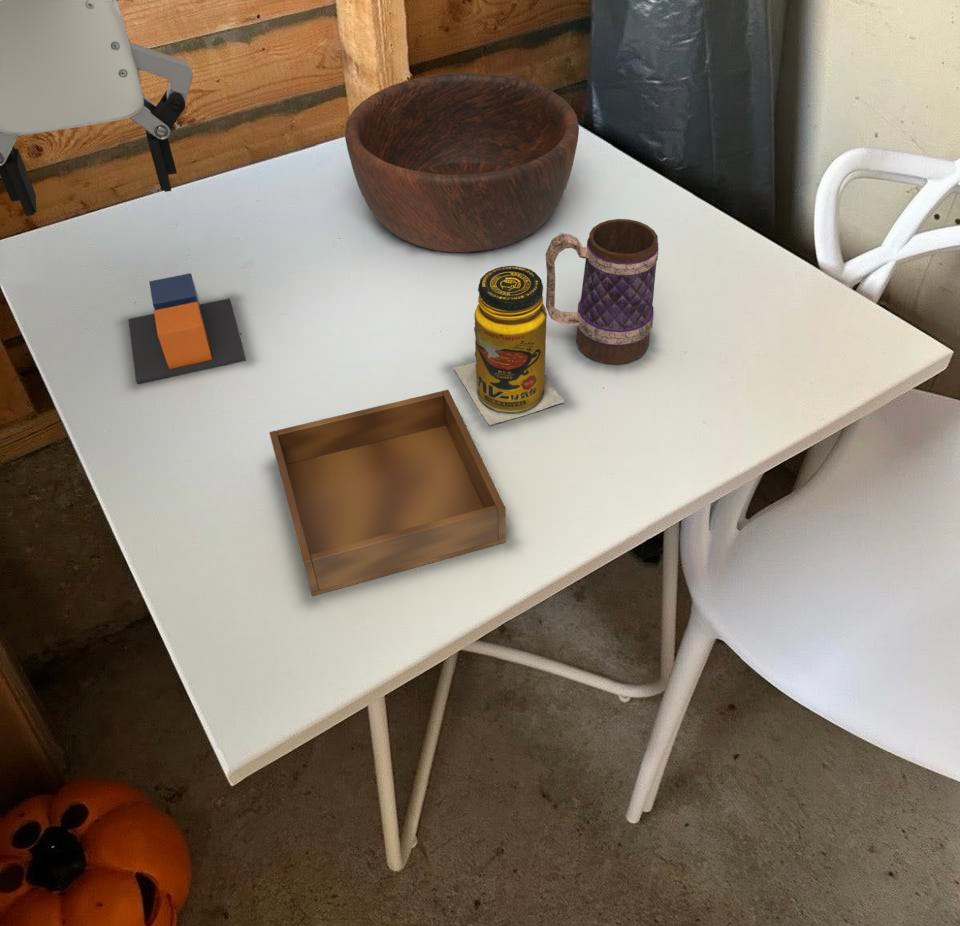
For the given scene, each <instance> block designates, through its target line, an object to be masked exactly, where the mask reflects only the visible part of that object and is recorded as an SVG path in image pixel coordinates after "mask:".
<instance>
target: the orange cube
mask: <svg viewBox="0 0 960 926" xmlns="http://www.w3.org/2000/svg"><path fill="white" fill-rule="evenodd" d="M153 314H154V315H155V321H156V328H157V334H158V338H159V341H160V344H161V347H162V350H163V353H164V356H165V359H166V361H167V364H168V367H169V369H173V368H178V367H182V366H187V365H191V364H196V363H200V362H205V361H210V360H212V356H211V351H210V347H209V342H208V337H207V333H206V330H205V326H204V323H203V320H202V316H201V313H200V309H199V306H198V302H193V303H188V304H183V305H179V306H174V307H169V308H164V309H159V310H153Z"/></svg>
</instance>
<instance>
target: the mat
mask: <svg viewBox="0 0 960 926" xmlns="http://www.w3.org/2000/svg"><path fill="white" fill-rule="evenodd" d="M200 306H201V310H202V315H203V319H204V324H205V330H206V333H207V337H208V342H209V347H210V351H211V356H212V360H210V361H205V362H200V363H196V364H191V365H187V366H182V367H178V368H173V369H169V367H168V364H167V361H166V359H165V356H164V353H163V350H162V347H161V344H160V341H159V338H158V334H157V328H156V321H155V315H154V313H150V314H145V315H141V316H135V317H131V318H128V327H129V337H130V343H131V351H132V360H133V367H134V375H135V382H136V384H137V385H138V384H139V385H140V384H144V383H147V382H153V381H157V380H161V379H165V378H170V377H171V378H172V377H175V376H180V375H185V374H188V373H189V374H190V373H193V372H197V371H202V370H208V369H212V368H215V367H220V366H226V365H230V364H234V363H239V362H243V361H246V357H245V353H244V349H243V348H244V347H243V344H242V341H241V336H240V333H239V329H238V325H237V321H236V317H235V314H234V309H233V305H232V302H231V298H230V297H229V298H224V299H219V300H214V301H209V302H205V303H200Z"/></svg>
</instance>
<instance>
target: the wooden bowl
mask: <svg viewBox="0 0 960 926" xmlns="http://www.w3.org/2000/svg"><path fill="white" fill-rule="evenodd" d="M578 120H579V119H578V116H577V114H576V112H575V110H574V109H573V107H572V106H571V105H570V104H569V102H568V101H566V99H564V98H563V97H562V96H560V95H559V94H557V93H555V92H554V91H552V90H550V89H549V88H547V87H544V86H542V85H540V84H537V83H534V82H532V81H529V80H525V79H521V78H517V77H512V76H507V75H503V74H502V75H501V74H493V73H483V72H482V73H481V72H454V73H453V72H451V73H442V74H441V73H440V74H433V75H427V76H422V77H416V78H413V79H408V80H404V81H401V82H399V83H395V84H393V85H389V86H387V87H385V88H383V89H380V90H379V91H377V92H375V93H373V94H372V95H370V96H368V97H367V98H365V100H363V101H362V102H360V103H359V104H358V105H357V106H356V107H355V108H354V109H353V110H352V112H351V113H350V114H349V116H348V119H347V120H346V123H345V130H344V139H345V143H346V149H347V153H348V157H349V160H350V164H351V168H352V171H353V174H354V178H355V180H356V183H357V187H358V189H359V191H360V194H361V196H362V197H363V200H364V202H365V203H366V205H367V207H368V208H369V210H370V211H371V213H372V214H373V215H374V217H375V218H376V220H378V222H379V223H380V224H381V225H382V226H383V227H384V228H385V229H386V230H387V231H388V232H390V233H392V234H393V235H394V236H396V237H398V238H400V239H401V240H403V241H405V242H407V243H409V244H412V245H415V246H418V247H420V248H425V249H429V250H434V251H440V252H448V253H470V252H471V253H472V252H482V251H488V250H494V249H498V248H502V247H505V246H509V245H512V244H514V243H516V242H519V241H521V240H523V239H524V238H526V237H528V236H530V235H532V234H533V233H534V232H536V231H537V230H538V229H540V228H541V227H542V226H544V224H545V223H547V221H548V220H549V218H550V217H551V216H552V215H553V214H554V212H555V210H556V209H557V207H558V205H559V204H560V202H561V200H562V198H563V196H564V193H565V191H566V188H567V187H568V184H569V180H570V177H571V174H572V171H573V170H572V169H573V167H574V166H573V165H574V161H575V157H576V151H577V147H578V141H579V135H580V126H579V125H580V124H579V121H578Z"/></svg>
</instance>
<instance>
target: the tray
mask: <svg viewBox="0 0 960 926" xmlns="http://www.w3.org/2000/svg"><path fill="white" fill-rule="evenodd" d="M269 437H270V441H271V445H272V450H273V452H274V455H275V456H274V458H275V460H276V464H277V467H278V473H279V476H280V481H281V484H282V488H283V492H284V495H285V499H286V503H287V507H288V512H289V515H290V518H291V522H292V526H293V530H294V534H295V538H296V541H297V545H298V549H299V552H300V557H301V561H302V564H303V568H304V572H305V576H306V580H307V583H308V587H309V591H310V595H311V596H312V597H313V596H318V595H321V594H324V593H328V592H332V591H335V590H340V589H342V588H347V587H349V586H353V585H354V586H355V585H357V584H361V583H364V582H367V581H371V580H375V579H378V578H382V577H386V576H389V575H393V574H396V573H400V572H403V571H407V570H411V569H414V568H418V567H421V566H425V565H429V564H432V563H436V562H441V561H444V560H447V559H450V558H454V557H457V556H461V555H464V554H468V553H472V552H476V551H479V550H483V549H486V548H490V547H493V546H498V545H501V544H505V543H506V536H507V535H506V534H507V533H506V529H507V528H506V511H507V510H506V509H507V508H506V506H505V504H504V502H503V500H502V498H501V496H500V494H499V492H498V489H497V487H496V486H495V482H493V479H492V478H491V477H492V476H491V475H490V473H489V471H488V469H487V466H486V465H485V462H484V461H483V458H482V457H481V454H480V452H479V450H478V448H477V446H476V444H475V441H474V439H473V438H472V435H471V433H470V431H469V429H468V427H467V425H466V422H465V421H464V418H463V417H462V415H461V413H460V410H459V409H458V406H457V404H456V402H455V400H454V398H453V396H452V394H451V392H450V390H449V389H444V390H441V391H436V392H433V393H428V394H423V395H420V396H419V395H418V396H415V397H410V398H407V399H403V400H399V401H398V400H397V401H394V402H390V403H386V404H381V405H378V406H374V407H368V408H365V409H361V410H357V411H356V410H355V411H353V412H348V413H343V414H339V415H335V416H331V417H327V418H323V419H319V420H318V419H317V420H314V421H310V422H306V423H301V424H297V425H294V426H289V427H285V428H280V429H277V430H272V431H269Z"/></svg>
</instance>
